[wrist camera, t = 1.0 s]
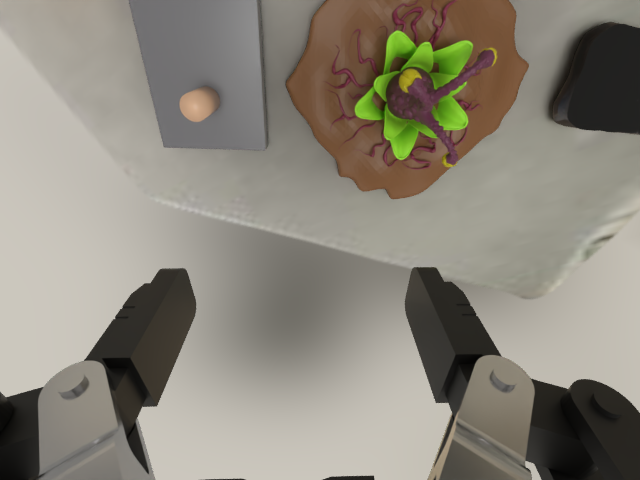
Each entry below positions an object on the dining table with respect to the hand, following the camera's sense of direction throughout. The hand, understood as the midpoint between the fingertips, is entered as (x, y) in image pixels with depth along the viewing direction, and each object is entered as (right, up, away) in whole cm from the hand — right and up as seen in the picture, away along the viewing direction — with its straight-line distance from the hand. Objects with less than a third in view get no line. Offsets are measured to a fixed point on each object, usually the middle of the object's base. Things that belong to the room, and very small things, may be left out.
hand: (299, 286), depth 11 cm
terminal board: (-9, +19, +16) cm, 27 cm away
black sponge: (+31, +17, +19) cm, 41 cm away
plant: (+8, +17, +19) cm, 27 cm away
